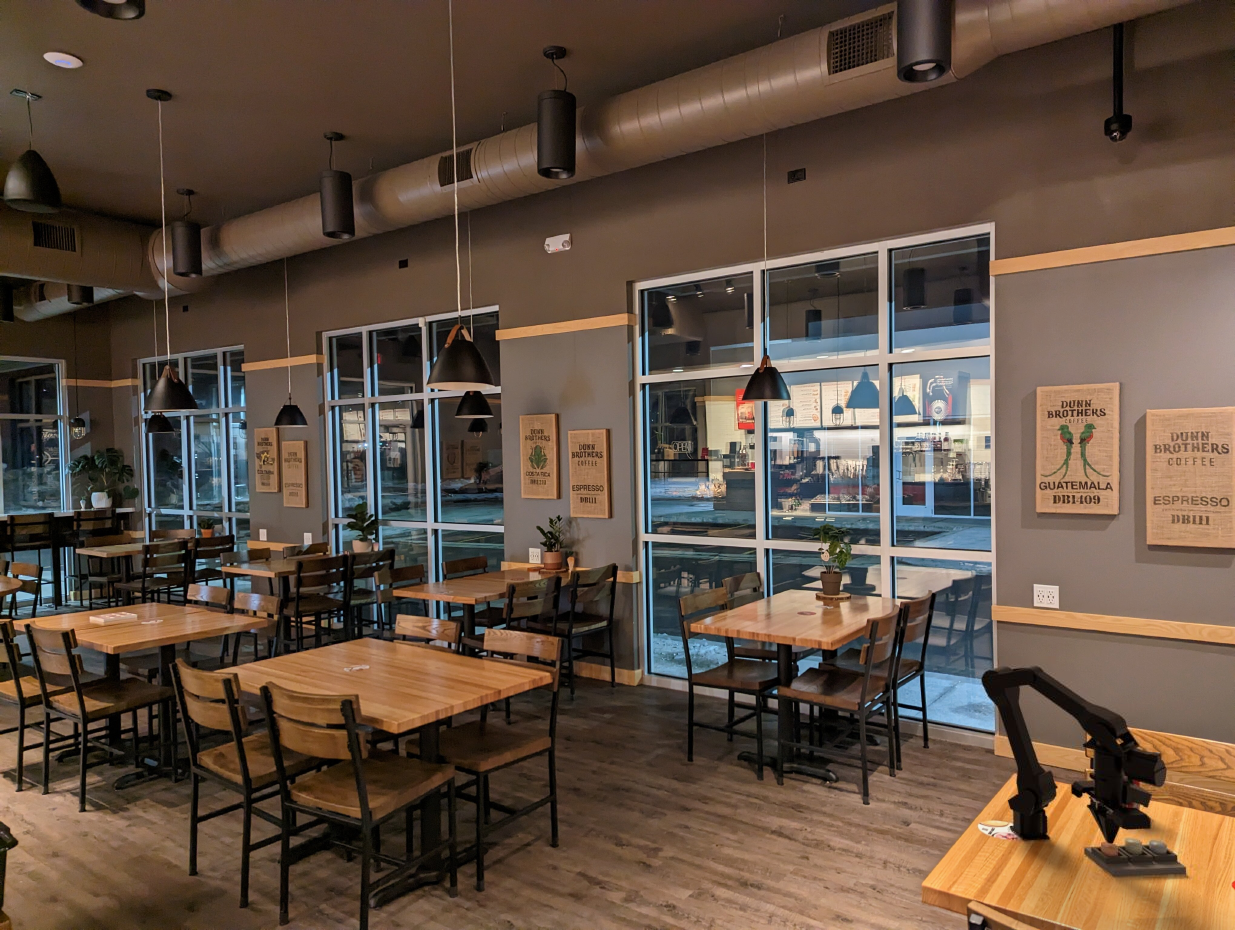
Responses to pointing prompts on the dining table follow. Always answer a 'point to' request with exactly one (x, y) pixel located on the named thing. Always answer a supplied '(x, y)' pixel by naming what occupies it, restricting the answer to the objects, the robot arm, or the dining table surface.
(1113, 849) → the button clay
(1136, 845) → the button sage
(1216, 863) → the dining table surface
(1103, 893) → the dining table surface
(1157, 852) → the button slate
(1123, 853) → the button panel
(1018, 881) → the dining table surface
